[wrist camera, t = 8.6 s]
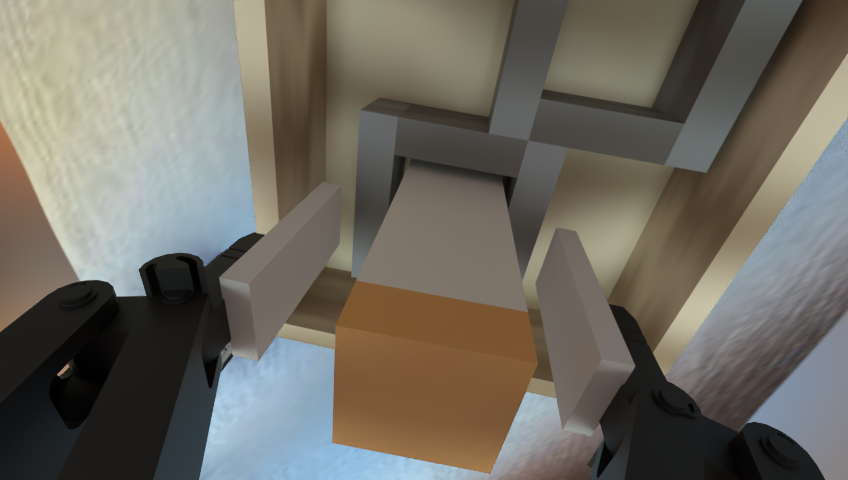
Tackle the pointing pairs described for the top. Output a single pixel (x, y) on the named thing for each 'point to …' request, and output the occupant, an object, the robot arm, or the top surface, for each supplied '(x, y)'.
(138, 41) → the top surface
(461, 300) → the plug
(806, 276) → the top surface
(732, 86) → the walled box
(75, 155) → the top surface
